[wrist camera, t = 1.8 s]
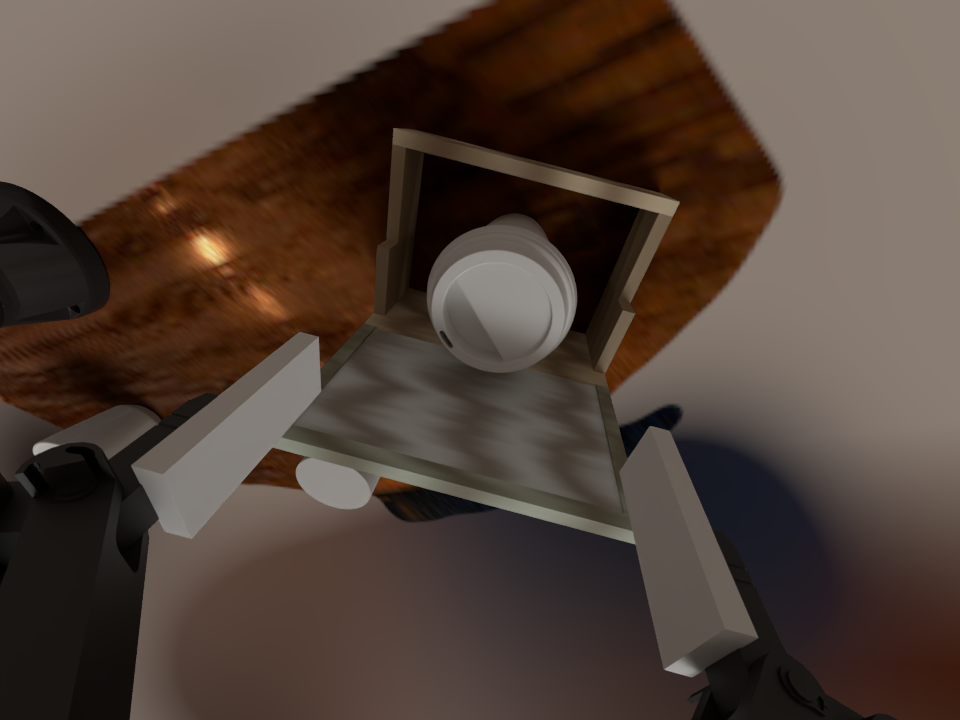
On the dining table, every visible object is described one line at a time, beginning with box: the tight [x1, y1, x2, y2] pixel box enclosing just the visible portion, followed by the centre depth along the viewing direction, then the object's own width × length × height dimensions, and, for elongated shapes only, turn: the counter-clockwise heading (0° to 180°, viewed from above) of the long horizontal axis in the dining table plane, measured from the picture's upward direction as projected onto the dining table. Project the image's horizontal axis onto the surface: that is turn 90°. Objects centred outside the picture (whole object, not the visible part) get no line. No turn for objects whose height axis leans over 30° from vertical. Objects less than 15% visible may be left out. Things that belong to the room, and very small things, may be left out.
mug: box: [33, 405, 162, 460], centre depth 52 cm, size 14×10×10 cm
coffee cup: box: [427, 213, 577, 373], centre depth 27 cm, size 10×10×15 cm
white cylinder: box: [296, 456, 380, 509], centre depth 42 cm, size 8×8×12 cm
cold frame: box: [273, 128, 680, 544], centre depth 25 cm, size 21×16×22 cm
